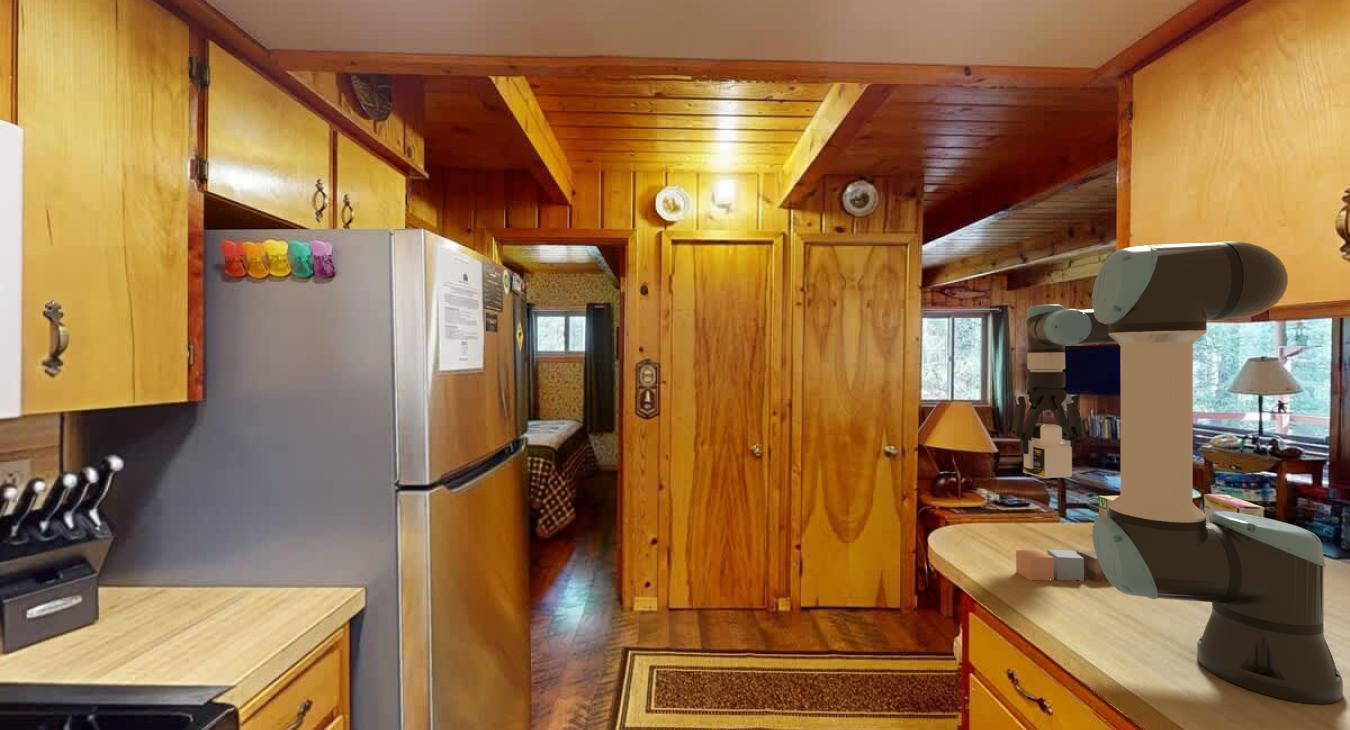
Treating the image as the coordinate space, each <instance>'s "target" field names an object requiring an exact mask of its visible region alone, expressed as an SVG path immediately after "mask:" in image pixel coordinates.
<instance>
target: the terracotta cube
mask: <svg viewBox="0 0 1350 730" xmlns="http://www.w3.org/2000/svg"><path fill="white" fill-rule="evenodd" d="M1015 550H1016V549H1015ZM1015 559H1016V561H1015V566H1016V567H1015V570H1016V571H1015V572H1016V574H1018V573H1019V574H1018V575H1020V574H1021V575H1020V576H1021V577H1023V576H1024V578H1025V577H1026V578H1025V579H1028V581H1030V580H1045V581H1055V579H1054V578H1055V577H1054V557H1052V556H1050V555H1048V553H1046V552H1044V551H1041V550H1040V549H1017V550H1016V551H1015ZM1050 579H1051V580H1050Z"/></svg>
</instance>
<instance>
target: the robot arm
mask: <svg viewBox="0 0 1350 730" xmlns="http://www.w3.org/2000/svg"><path fill="white" fill-rule="evenodd" d="M1288 283H1289V275H1288V272H1287V269H1286V266H1285V265H1284V263H1283V262H1282V260H1281V259H1280V258H1279V257H1277V255H1275V254H1274V253H1273V252H1271V251H1270V250H1268V249H1267V248H1264V247H1262V246H1260V245H1257V244H1254V243H1250V242H1242V241H1218V242H1196V243H1195V242H1193V243H1174V244H1172V243H1171V244H1170V243H1169V244H1149V245H1148V244H1147V245H1142V246H1141V245H1140V246H1134V247H1133V246H1132V247H1126V248H1121V249H1118V250H1117V251H1114V252H1113V253H1111V254H1110V255H1109V256H1108V257H1107V258H1106V259H1105V261H1104V262H1103V264H1102V265H1101V267H1100V269H1099V270H1098V272H1097V275H1096V278H1095V281H1094V284H1093V287H1092V288H1093V290H1092V295H1091V309H1076V308H1065V307H1064V306H1063V304H1062V305H1061V304H1038V305H1032V306H1029V307H1028V309H1027V312H1026V313H1027V314H1026V319H1025V323H1026V347H1027V349H1026V350H1027V351H1026V352H1027V358H1026V359H1027V360H1026V361H1027V362H1026V363H1027V369H1028V370H1029V371H1028V373H1027V374H1026V375H1027V392H1026V394H1022V395H1016V394H1015V396H1014V397H1013V399H1014V404H1015V406H1014V412H1013V420H1012V426H1011V432H1010V435H1011V436H1012V437H1013V438H1017V439H1018V440H1019V452H1020V454H1022V455H1023V454H1024V467H1026V468H1029V469H1033V441H1032V439H1031V438H1032V436H1031V434H1032V432H1033V430H1034V427H1035V425H1036V424H1038V420H1039V417H1040V416H1041V414H1042V413H1043V411H1044V412H1045V411H1050V412H1051V413H1052V414H1053V416H1054V419H1055V421H1056V425H1059V426H1061V428H1062V442H1060V444H1062V445H1067V446H1071V447H1072V455H1073V454H1074V452H1075V451H1074V448H1075V447H1074V444H1075V443H1074V442H1076V441H1077V440H1078V438H1083V436H1084V433H1083V428H1082V427H1083V426H1082V421H1081V416H1080V415H1081V414H1080V409H1079V403H1080V396H1079V395H1075V394H1067V393H1066V390H1065V388H1066V373H1065V372H1064V371H1063V370H1066V346H1073V345H1075V346H1076V345H1079V346H1080V345H1107V344H1115V345H1117V344H1118V345H1119V346H1120V348H1119V349H1120V350H1119V351H1120V354H1119V355H1120V356H1119V357H1120V371H1119V372H1120V379H1119V380H1120V493H1119V495H1118V496H1119V497H1117V498H1116V499H1114V500H1113V501H1111V502H1110V503H1109V517H1106V516H1103V517H1101V518H1099V517H1097V518H1096V519H1095V520H1094V522H1093V525H1092V542H1093V543H1092V544H1093V547H1094V549H1093V550H1095V552H1096V556H1097V559H1098V562H1099V564H1100V566H1101V568H1102V571H1103V573H1104V574H1105V576H1106V578H1107V579H1108V581H1107V582H1108V583H1110V584H1111V586H1112V587H1113V588H1115V589H1116V590H1117V591H1119V592H1120V593H1122V594H1124V595H1130V596H1135V597H1143V598H1144V597H1145V598H1147V599H1152V600H1156V599H1162V600H1163V599H1165V600H1176V601H1177V600H1179V601H1190V602H1202V603H1203V602H1204V603H1205V602H1206V603H1211V606H1212V607H1211V613H1210V616H1209V618H1208V621H1207V623H1206V625H1205V628H1204V631H1203V633H1202V636H1200V637H1199V639H1198V640H1197V644H1196V652H1197V655H1196V656H1197V660H1198V662H1199V663H1200V665H1202V666H1203V667H1204V668H1205V669H1207V670H1208V671H1209V672H1211V673H1212V674H1214V675H1215V676H1217V677H1219V678H1221V679H1224V680H1225V681H1227V682H1230V683H1232V684H1234V685H1237V686H1240V687H1242V688H1245V689H1247V690H1251V691H1253V692H1256V693H1259V694H1263V695H1265V696H1266V695H1267V696H1270V697H1273V698H1274V697H1275V698H1278V699H1282V700H1286V701H1292V702H1298V703H1299V702H1300V703H1305V704H1321V705H1322V704H1323V705H1325V704H1332V703H1333V704H1334V703H1336V702H1339V701H1341V700H1342V699H1343V697H1344V694H1343V693H1344V689H1343V687H1344V686H1343V685H1344V683H1343V677H1342V675H1341V673H1340V672H1339V670H1338V669H1337V666H1336V663H1335V660H1334V657H1333V654H1332V652H1331V650H1330V648H1329V645H1328V643H1327V640H1326V638H1325V635H1324V634H1325V633H1324V632H1325V631H1324V627H1325V625H1324V621H1325V620H1324V619H1325V618H1324V615H1325V614H1324V612H1325V611H1324V610H1325V609H1324V607H1325V605H1324V601H1325V600H1324V593H1325V592H1324V591H1325V590H1324V589H1325V588H1324V584H1325V583H1324V579H1325V578H1324V577H1325V576H1324V571H1325V570H1324V568H1325V567H1326V562H1325V557H1324V551H1323V550H1324V549H1323V543H1322V541H1321V539H1320V537H1318V536H1317V535H1316V534H1315V533H1313V532H1312V531H1310V530H1307V529H1305V528H1303V527H1300V526H1298V525H1294V524H1290V523H1287V522H1283V521H1279V520H1276V519H1272V518H1267V517H1265V518H1263V517H1258V516H1253V515H1248V514H1242V513H1235V512H1227V511H1219V512H1217V511H1216V512H1213V513H1212V515H1211V517H1210V520H1211V521H1212V522H1211V523H1206V515H1205V514H1204V511H1202V510H1201V509H1200V508H1198V507H1197V506H1196V505H1195V503H1194V502H1193V496H1194V495H1193V491H1194V489H1193V480H1194V479H1193V471H1194V469H1193V467H1194V466H1193V463H1194V462H1193V460H1194V459H1193V457H1194V456H1193V455H1194V454H1193V451H1194V450H1193V449H1194V448H1193V447H1194V445H1193V441H1194V439H1193V437H1194V435H1193V427H1194V426H1193V425H1194V422H1193V420H1194V417H1193V416H1194V415H1193V413H1194V412H1193V411H1194V410H1193V407H1194V401H1193V400H1194V399H1193V398H1194V397H1193V396H1194V395H1193V393H1194V392H1193V391H1194V386H1193V385H1194V383H1193V381H1194V377H1193V375H1194V374H1193V373H1194V370H1193V369H1194V362H1193V361H1194V353H1193V352H1194V351H1193V350H1194V344H1195V343H1196V342H1197V341H1199V339H1200V338H1202V337H1203V336H1204V335H1206V334H1207V331H1208V330H1207V327H1208V326H1207V323H1208V322H1212V321H1219V322H1221V321H1222V322H1233V321H1238V320H1243V319H1247V318H1250V317H1255V316H1257V315H1260V314H1262V313H1265V312H1266V311H1268V310H1271V308H1273V307H1274V306H1275V305H1276V304H1278V302H1279V301H1280V300H1281V299H1282V298H1283V297H1284V295H1285V292H1286V291H1287V286H1288ZM1028 401H1029V403H1030V407H1029V408H1028V414H1027V416H1026V412H1027V411H1026V410H1027V404H1028ZM1064 402H1065V404H1066V411H1065V408H1064V407H1063V403H1064ZM1065 412H1067V416H1066V414H1065ZM1025 416H1026V417H1025ZM1067 417H1068V418H1067Z"/></svg>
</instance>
